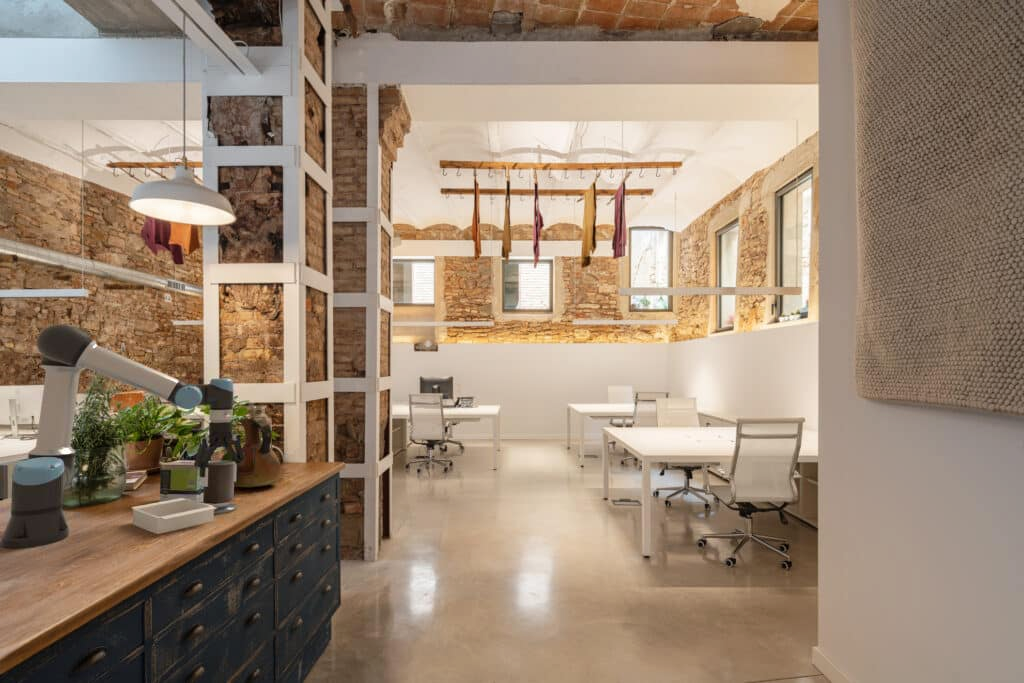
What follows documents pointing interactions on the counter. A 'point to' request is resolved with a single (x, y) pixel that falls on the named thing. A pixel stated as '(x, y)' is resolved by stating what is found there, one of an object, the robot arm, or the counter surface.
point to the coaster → (224, 508)
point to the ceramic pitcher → (257, 456)
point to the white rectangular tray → (172, 515)
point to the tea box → (181, 481)
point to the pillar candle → (219, 482)
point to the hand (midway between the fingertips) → (219, 483)
